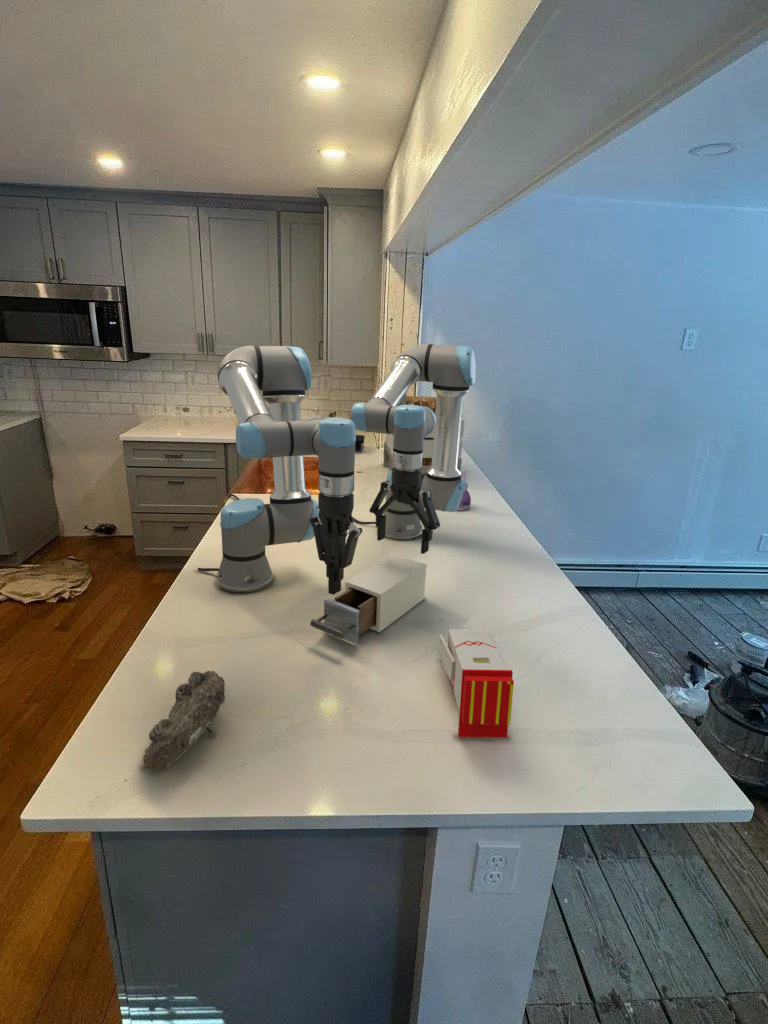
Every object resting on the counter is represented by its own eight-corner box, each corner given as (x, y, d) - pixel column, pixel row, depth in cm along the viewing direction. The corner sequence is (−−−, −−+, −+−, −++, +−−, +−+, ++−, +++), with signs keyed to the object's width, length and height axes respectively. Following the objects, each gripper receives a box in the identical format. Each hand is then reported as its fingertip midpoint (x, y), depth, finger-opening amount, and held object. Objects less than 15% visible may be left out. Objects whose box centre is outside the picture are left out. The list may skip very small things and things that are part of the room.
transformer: (382, 463, 289) (386, 382, 275) (445, 464, 293) (451, 384, 279) (390, 482, 257) (394, 392, 243) (460, 483, 261) (468, 394, 247)
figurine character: (364, 456, 306) (364, 446, 320) (364, 442, 303) (365, 433, 317) (351, 455, 306) (352, 446, 320) (352, 442, 303) (353, 433, 316)
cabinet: (379, 632, 139) (380, 594, 135) (344, 618, 144) (345, 581, 141) (424, 598, 156) (426, 564, 152) (391, 587, 161) (393, 553, 158)
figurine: (457, 512, 223) (460, 476, 218) (443, 504, 231) (446, 469, 226) (477, 509, 227) (480, 473, 222) (462, 502, 236) (465, 467, 230)
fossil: (173, 672, 114) (226, 639, 109) (207, 702, 116) (260, 672, 111) (117, 763, 94) (178, 728, 89) (159, 797, 97) (220, 765, 92)
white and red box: (488, 613, 130) (523, 677, 101) (484, 667, 133) (517, 744, 104) (435, 612, 130) (455, 676, 101) (432, 666, 133) (451, 743, 103)
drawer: (341, 654, 128) (341, 622, 125) (309, 640, 132) (308, 608, 130) (402, 609, 148) (404, 580, 145) (372, 598, 153) (373, 570, 150)
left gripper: (301, 490, 120) (301, 589, 128) (350, 503, 114) (347, 607, 122) (323, 482, 126) (323, 577, 134) (371, 494, 120) (367, 594, 128)
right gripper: (358, 461, 146) (355, 537, 153) (443, 480, 133) (436, 562, 140) (374, 456, 152) (371, 530, 159) (458, 474, 139) (450, 553, 146)
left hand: (334, 591), depth 128 cm, fingers closed
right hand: (402, 545), depth 150 cm, fingers open, 13 cm apart
